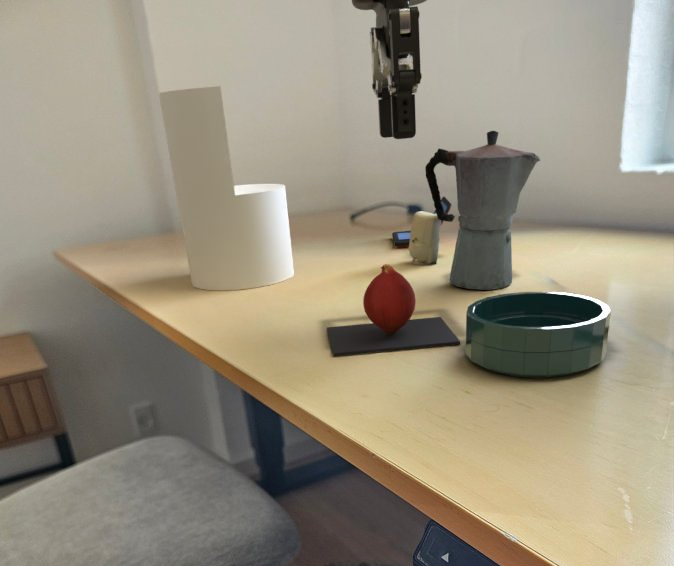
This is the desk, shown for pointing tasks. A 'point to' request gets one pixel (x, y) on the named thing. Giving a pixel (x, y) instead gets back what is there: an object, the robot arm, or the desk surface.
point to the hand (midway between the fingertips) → (396, 137)
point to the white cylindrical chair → (222, 200)
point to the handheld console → (403, 237)
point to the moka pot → (483, 210)
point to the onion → (389, 300)
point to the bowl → (537, 333)
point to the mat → (390, 337)
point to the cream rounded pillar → (424, 238)
